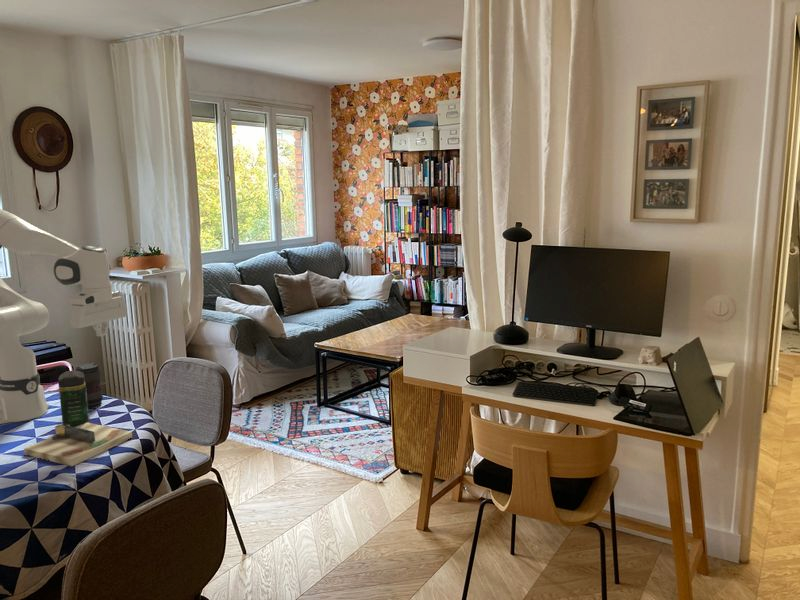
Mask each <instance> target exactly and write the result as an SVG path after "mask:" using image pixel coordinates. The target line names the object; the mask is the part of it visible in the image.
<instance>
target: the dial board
mask: <svg viewBox="0 0 800 600" xmlns="http://www.w3.org/2000/svg"><path fill="white" fill-rule="evenodd" d="M76 428H80V429H85V430H89V431H93V432H94V435H95V441H94V442H92V443H89V442H85V441H80V440H76V439H72V438H68V437H62V438H58V437H56V434H54V435H53V436H50V437H48V438H46V439H43V440H41V441H38V442H36V443H33V444H32V445H29V446H27V447H24V448H23V450H24V451H23V452H24V455H25V456H28V455H29V456H28V457H33V458H37V459H40V458H41V460H44V459H45V461H48V460H49V461H48V462H53V463H56V464H57V463H58V464H62V465H65V466H69V467H74V466H75V465H78V464H80V463H82V462H84V461H86V460H89V459H90V458H92V457H95V456H97V455H100V454H101V453H103V452H105V451H107V450H109V449H111V448H114V447H116V446H117V445H120V444H122V443H124V442H126V441H128V439H129V440H130V438H131V439H132V437H133V431H131V430H126V429H122V428H121V429H120V428H115V427H111V426H106V425H102V424H96V423H91V422H89V423H84V424H82V425H79V426H77V427H76Z"/></svg>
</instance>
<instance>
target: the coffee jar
mask: <svg viewBox="0 0 800 600" xmlns="http://www.w3.org/2000/svg"><path fill="white" fill-rule="evenodd" d="M57 382H58V392H59V402H60V410H61V411H60V412H61V420H62V421H61V422H62V424H70V426H71V427H77V426H79V425H82V424H84V423H90V415H89V409H88V403H87V392H86V384H85V377H84V373H82V372H80V371H78V370H76V369H75V370H66V371H64V372H63V373H61V374H60V375H59V377H58V380H57Z"/></svg>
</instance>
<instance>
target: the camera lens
mask: <svg viewBox="0 0 800 600" xmlns="http://www.w3.org/2000/svg"><path fill="white" fill-rule="evenodd" d="M75 370H78V371H80V372H82V373H84V377H85V384H86V392H87V403H88V410H89V409H96V408H97V407H98V408H99V407H100V406H101V405H102V402H103V396H104V395H103V388H102V387H103V383H102V379H101V378H102V375H101V374H102V373H101V367H100V364H99V363H95V362H90V363H84V364H80V365H77V366H75Z"/></svg>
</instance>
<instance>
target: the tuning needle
mask: <svg viewBox="0 0 800 600" xmlns="http://www.w3.org/2000/svg"><path fill="white" fill-rule="evenodd" d="M54 430H55V435H56V437H58V438H62V437H68V438H72V439H76V440H80V441H85V442H89V443H92V442H94V441H95V435H94V432H93V431H89V430H85V429H80V428H76V427H71V426H70V424H63V423H60V424H57V425H55V426H54Z"/></svg>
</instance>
